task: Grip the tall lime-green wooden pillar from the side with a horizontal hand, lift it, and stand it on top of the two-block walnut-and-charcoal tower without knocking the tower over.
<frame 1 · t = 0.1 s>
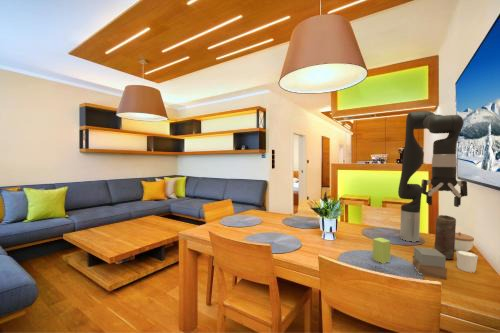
hand: (442, 205, 91), 29 cm above the table, tool pointing down, fingers open, 8 cm apart
walnut base block: (428, 272, 95), on the table
lime pillar: (381, 260, 106), on the table
lidded jar: (459, 250, 118), on the table
white short cylinder: (466, 269, 98), on the table
candle: (444, 257, 109), on the table
charcoal top block: (428, 262, 95), point 4 cm above the table
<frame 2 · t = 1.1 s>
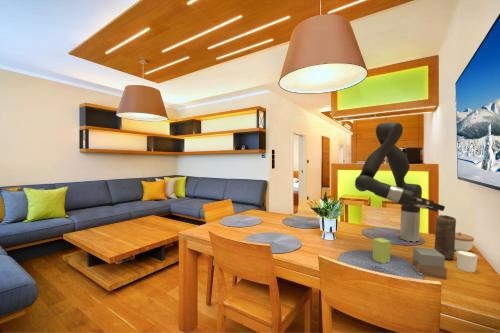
hand: (440, 209, 99), 26 cm above the table, tool tilted 75°, fingers open, 8 cm apart
walnut base block: (428, 272, 95), on the table, touching charcoal top block
charcoal top block: (428, 262, 95), point 4 cm above the table, touching walnut base block
everything else where it was.
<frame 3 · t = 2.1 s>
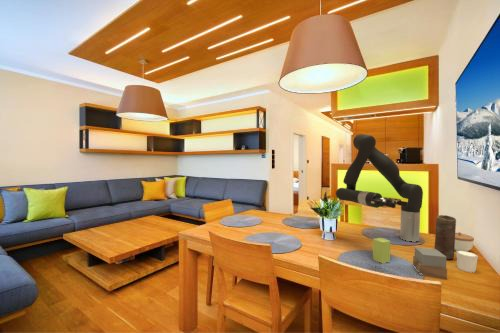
hand: (401, 205, 102), 27 cm above the table, tool horizontal, fingers open, 8 cm apart
nothing on the table moved.
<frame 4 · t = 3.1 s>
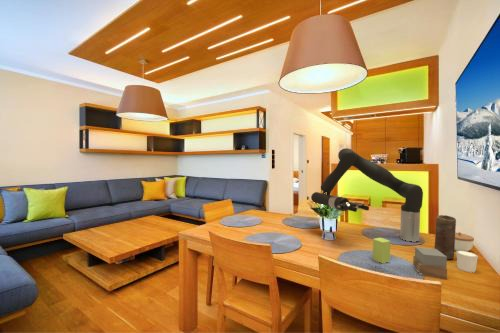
hand: (362, 209, 115), 22 cm above the table, tool horizontal, fingers open, 8 cm apart
nothing on the table moved.
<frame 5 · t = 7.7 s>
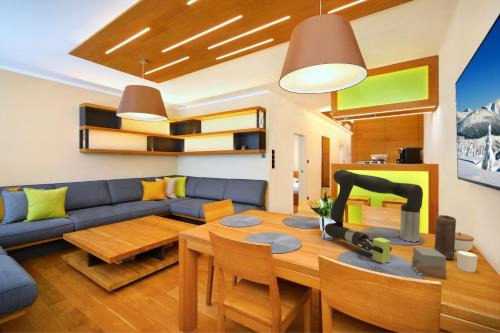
hand: (386, 250, 103), 6 cm above the table, tool horizontal, fingers closed on lime pillar, 5 cm apart
lime pillar: (381, 260, 106), on the table, touching gripper
when the fingers open (16 cm above the table, at t = 12.8 s): lime pillar drops 2 cm, resting on charcoal top block.
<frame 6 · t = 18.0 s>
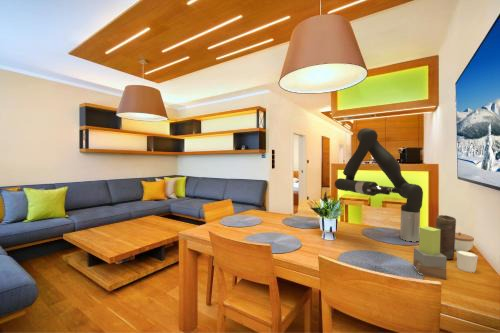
hand: (395, 192, 108), 32 cm above the table, tool horizontal, fingers open, 8 cm apart
lime pillar: (429, 251, 95), point 9 cm above the table, touching charcoal top block
charcoal top block: (429, 262, 95), point 4 cm above the table, touching lime pillar, walnut base block
everything else where it was.
at the end: lime pillar 0.1 cm off-centre on the walnut base block, point 9.0 cm above the walnut base block's base; lime pillar tilted 0°; charcoal top block 0.2 cm off-centre on the walnut base block, point 4.5 cm above the walnut base block's base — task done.
